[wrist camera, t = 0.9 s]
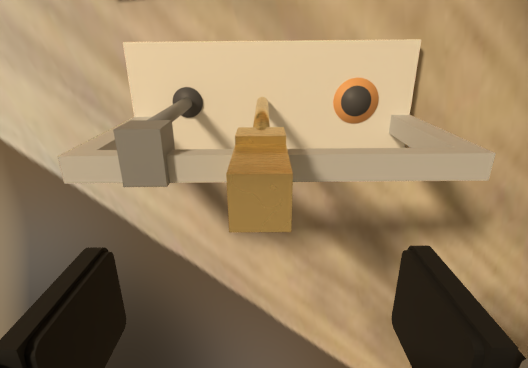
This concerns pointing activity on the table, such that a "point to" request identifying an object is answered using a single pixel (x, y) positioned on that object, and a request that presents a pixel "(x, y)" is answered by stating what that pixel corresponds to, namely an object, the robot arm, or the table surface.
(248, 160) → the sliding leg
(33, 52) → the table surface
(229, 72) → the white rack frame
